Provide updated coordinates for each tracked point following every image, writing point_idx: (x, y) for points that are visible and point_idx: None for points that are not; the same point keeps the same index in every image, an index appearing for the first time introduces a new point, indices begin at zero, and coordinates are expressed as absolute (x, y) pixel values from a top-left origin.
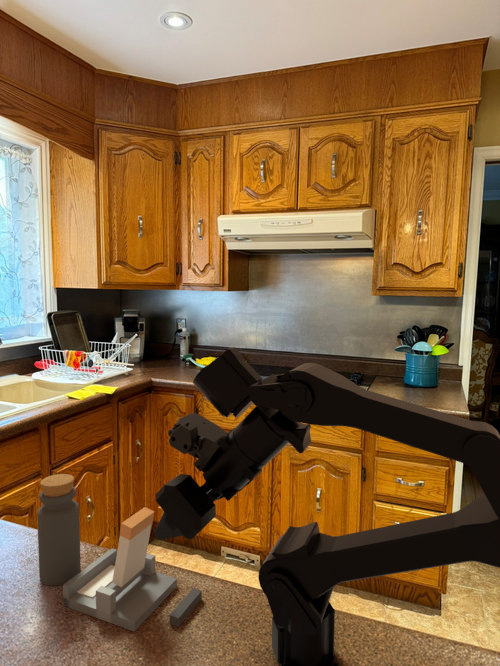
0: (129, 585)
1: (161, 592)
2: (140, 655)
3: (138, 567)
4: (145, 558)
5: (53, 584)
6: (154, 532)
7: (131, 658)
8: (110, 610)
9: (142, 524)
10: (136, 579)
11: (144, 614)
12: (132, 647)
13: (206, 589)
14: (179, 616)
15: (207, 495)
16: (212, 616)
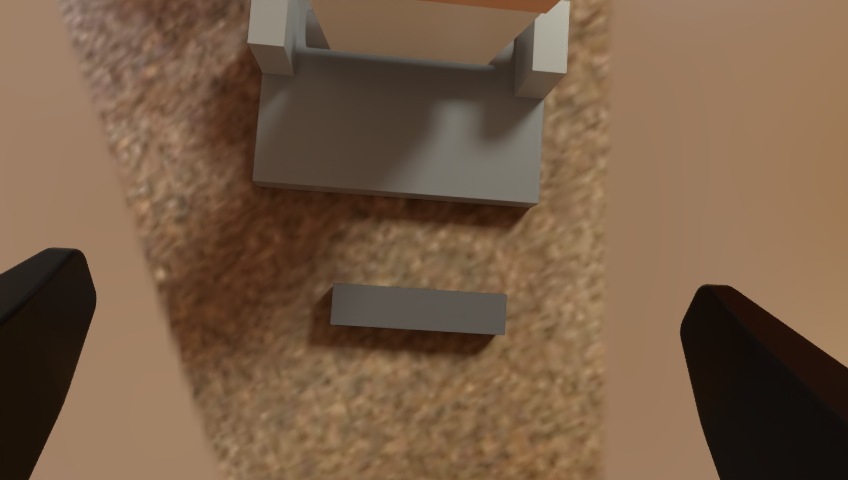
0: None
1: (438, 188)
2: (170, 266)
3: (442, 55)
4: (494, 57)
5: None
6: (42, 251)
7: (149, 244)
8: (261, 67)
9: None
10: None
11: (317, 186)
12: (193, 220)
13: (555, 325)
14: (340, 322)
15: (768, 475)
16: (424, 414)
